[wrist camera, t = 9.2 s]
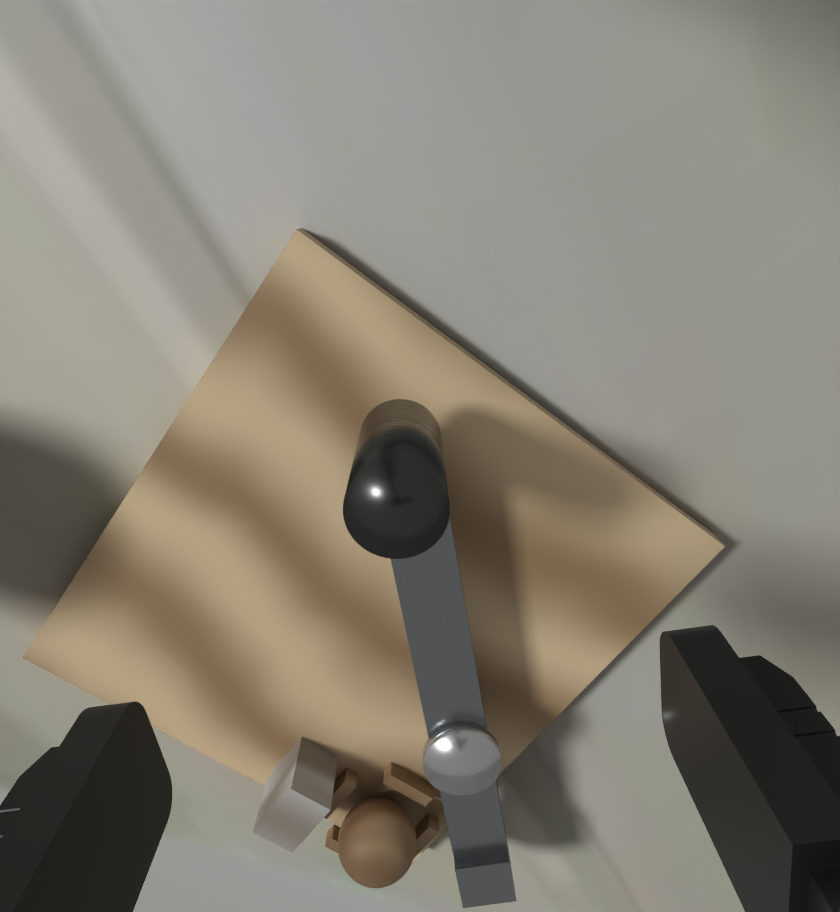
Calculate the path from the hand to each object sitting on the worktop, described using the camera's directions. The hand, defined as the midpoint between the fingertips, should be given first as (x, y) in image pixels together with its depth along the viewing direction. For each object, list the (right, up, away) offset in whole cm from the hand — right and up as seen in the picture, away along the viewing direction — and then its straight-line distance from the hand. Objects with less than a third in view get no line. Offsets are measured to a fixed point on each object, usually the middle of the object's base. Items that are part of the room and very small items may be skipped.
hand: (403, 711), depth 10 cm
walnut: (-2, -13, +22) cm, 26 cm away
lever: (+1, -4, +18) cm, 19 cm away
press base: (-2, -2, +20) cm, 20 cm away
